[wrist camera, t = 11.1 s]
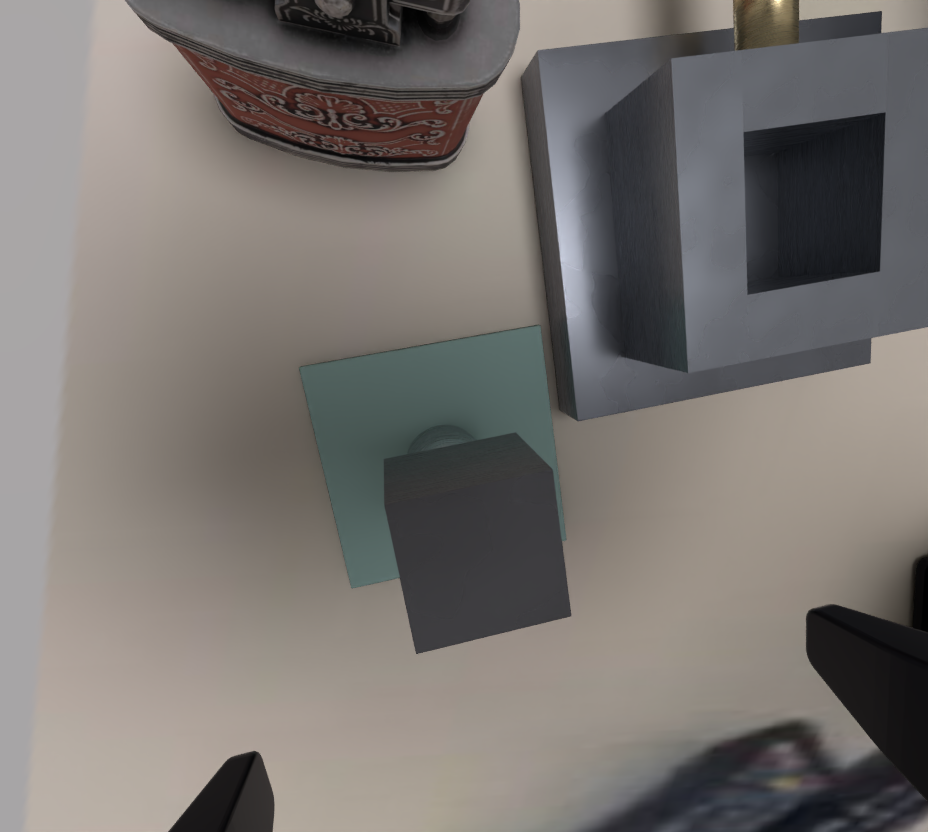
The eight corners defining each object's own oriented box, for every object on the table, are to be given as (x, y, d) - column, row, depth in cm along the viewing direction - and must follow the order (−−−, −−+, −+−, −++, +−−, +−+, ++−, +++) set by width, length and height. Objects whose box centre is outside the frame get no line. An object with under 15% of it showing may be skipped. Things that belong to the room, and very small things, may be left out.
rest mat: (563, 536, 22) (566, 540, 22) (352, 583, 21) (351, 588, 21) (537, 324, 20) (540, 325, 20) (300, 366, 19) (299, 367, 19)
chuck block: (828, 357, 22) (984, 378, 16) (559, 410, 21) (628, 452, 15) (832, -49, 19) (1035, -205, 13) (509, -17, 17) (574, -175, 12)
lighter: (471, 82, 18) (576, -172, 8) (459, 186, 19) (543, 65, 9) (221, 30, 16) (-6, -349, 7) (218, 146, 17) (8, -50, 7)
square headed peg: (486, 402, 20) (553, 469, 12) (501, 498, 21) (570, 615, 13) (383, 422, 20) (384, 504, 12) (403, 519, 20) (416, 653, 13)
